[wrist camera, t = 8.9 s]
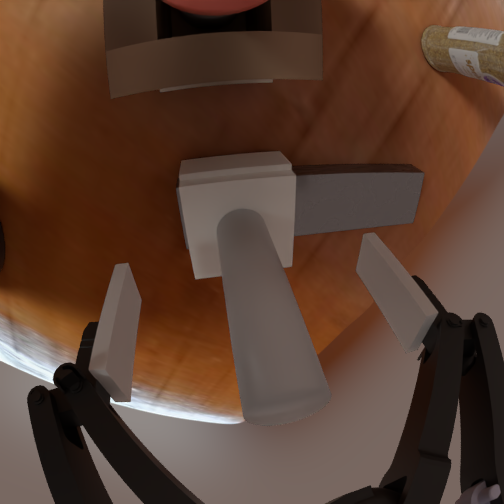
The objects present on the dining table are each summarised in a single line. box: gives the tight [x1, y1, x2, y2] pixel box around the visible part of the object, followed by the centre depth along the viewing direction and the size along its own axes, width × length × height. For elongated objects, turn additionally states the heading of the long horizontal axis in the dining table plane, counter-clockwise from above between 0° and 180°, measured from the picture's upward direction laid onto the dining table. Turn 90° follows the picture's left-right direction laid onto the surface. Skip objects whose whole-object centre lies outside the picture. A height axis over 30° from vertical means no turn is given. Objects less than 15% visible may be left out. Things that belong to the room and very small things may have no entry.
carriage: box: [179, 151, 331, 426], centre depth 16 cm, size 7×8×16 cm
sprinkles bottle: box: [421, 25, 504, 86], centre depth 11 cm, size 5×5×13 cm
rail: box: [176, 164, 424, 249], centre depth 22 cm, size 20×5×2 cm, turn 92°
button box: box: [103, 0, 323, 99], centre depth 11 cm, size 9×9×8 cm
